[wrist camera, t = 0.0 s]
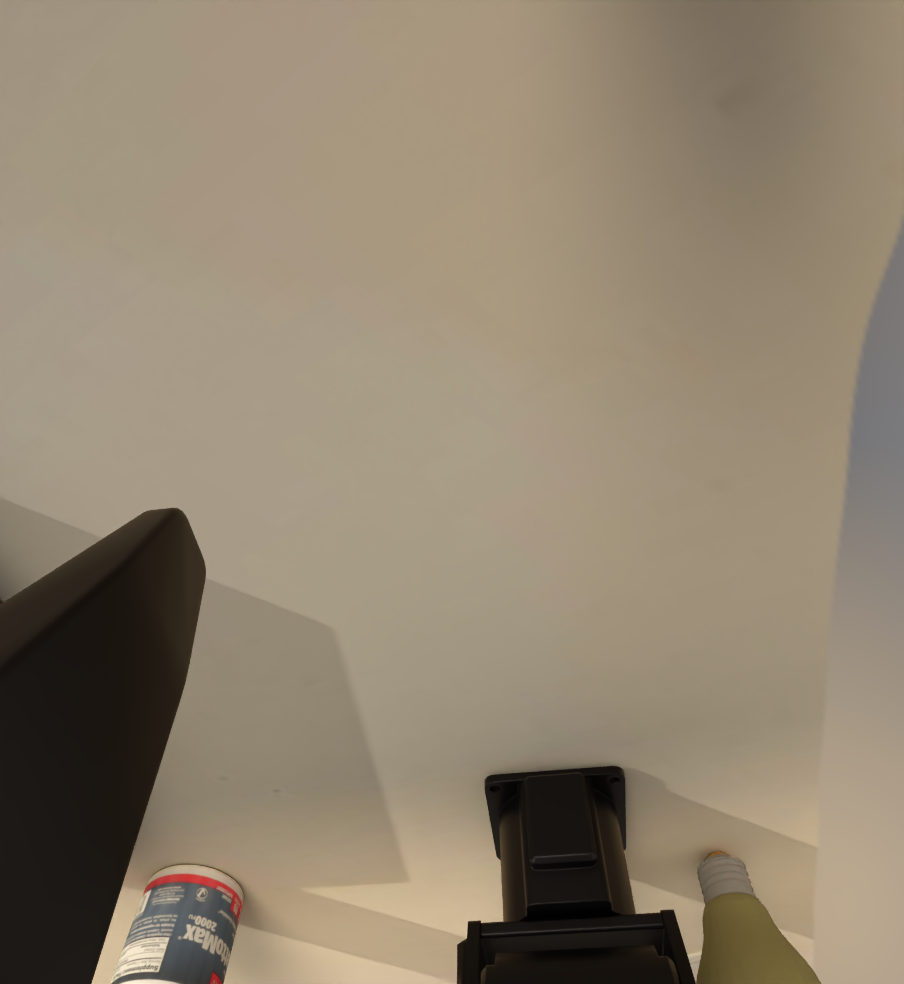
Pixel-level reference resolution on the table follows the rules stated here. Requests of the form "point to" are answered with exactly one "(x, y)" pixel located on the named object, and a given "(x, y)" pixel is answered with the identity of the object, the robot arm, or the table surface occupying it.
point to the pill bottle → (182, 928)
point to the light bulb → (742, 932)
